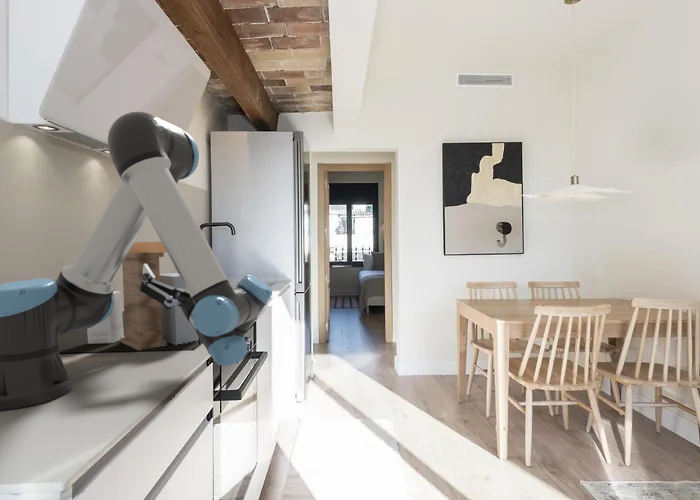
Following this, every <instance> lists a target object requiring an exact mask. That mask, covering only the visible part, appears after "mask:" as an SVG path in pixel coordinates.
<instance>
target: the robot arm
mask: <svg viewBox="0 0 700 500" xmlns="http://www.w3.org/2000/svg"><path fill="white" fill-rule="evenodd" d="M107 147H108V153H109V156H110V159H111V162H112V164H113V166H114V169H115V170H116V172H117V174H118V176H119V177H120V179H121V182H120V183H119V186H118V187H117V189H116V190H115V192H114V194H113V196H112V197H111V199H110V201H109V203H108V205H107V206H106V208H105V210H104V211H103V213H102V215H101V216H100V218H99V220H98V222H97V224H96V225H95V226H94V229H93V230H92V232H91V234H90V235H89V237H88V239H87V241H86V242H85V245H84V246H83V247H82V250H81V251H80V253H79V254H78V256H77V258H76V259H75V261H74V263H73V264H67V265H65V266H63V268H62V269H61V271H60V273H58V275H57V278H56V279H55V280H54V279H52V278H32V279H30V278H29V279H24V280H17V281H16V280H15V281H11V282H6V283H2V284H0V411H4V410H12V409H13V410H14V409H20V408H26V407H31V406H34V405H39V404H42V403H46V402H49V401H52V400H55V399H57V398H59V397H60V398H61V397H62V396H63V395H65V394H67V393H69V391H70V390H71V378H70V375H69V373H68V370H67V369H66V366H65V363H64V362H63V359H62V357H61V356H60V346H59V345H60V344H59V342H60V341H59V337H60V336H63V335H67V334H71V333H74V332H79V331H83V330H86V329H87V328H91V327H93V326H95V325H96V324H99V323H101V322H102V321H104V320H105V319H106V318H107V317H108V316H109V314H110V313H111V311H112V309H113V306H114V299H113V296H114V293H113V292H115V288H116V285H115V283H114V277H115V276H116V274H117V272H118V271H119V269H120V267H121V266H122V262H123V261H124V259H125V257H126V255H127V254H128V252H129V250H130V249H131V247H132V245H133V244H134V242H136V240H137V238H138V237H139V235H140V233H141V231H142V230H143V228H144V226H145V225H146V223H147V221H148V220H149V221H150V223H151V225H152V227H153V229H154V231H155V233H156V234H157V236H158V238H159V240H160V242H162V244H163V246H164V247H165V249H166V251H167V252H166V253H167V254H168V256H169V258H170V260H171V262H172V265H173V266H174V268H175V269H176V273H179V275H180V277H181V279H182V281H183V283H184V285H185V286H186V288H187V289H182V288H179V287H176V288H175V287H172V286H170V285H167V284H164V283H162V282H159V281H157V280H155V278H156V277H155V276H154V274H153V273H152V271H151V269H150V268H149V266H148V265H147V264H144V265H143V271H142V273H143V280H144V281H141V287H140V291H141V292H143V293H145V294H146V295H148V296H150V297H151V298H153V299H155V300H156V301H158V302H160V303H161V304H163V305H164V307H165V308H166V309H171V306H174V305H178V306H180V307H181V308H182V311H183V313H184V315H185V316H186V318H187V319H188V321H189V322H190V324H191V325H192V327H193V328H194V330H195V332H196V333H197V334H198V336H199V339H200V341H201V343H202V344H203V346H204V347H205V348H206V350H207V353H208V355H210V357H211V358H212V360H213V361H214V362H216V364H217V365H220V366H221V367H228V366H232V365H235V364H237V363H238V362H240V361H241V360H242V359H243V358H244V356H245V355H246V353H247V349H248V344H247V341H246V339H245V336H246V335H247V333H248V331H249V330H250V328H251V327H252V325H253V323H254V322H255V321H256V320H257V318H258V317H259V315H260V313H261V312H262V311H263V309H264V308H265V307H266V306H267V305H268V302H269V300H270V299H271V297H272V295H273V290H272V288H271V287H270V286H269V285H268V284H267V283H266V282H265V281H264V280H262V279H261V278H259V277H257V276H255V275H251V274H246V275H244V276H243V277H242V278H241V280H240V281H239V282H237V285H236V287H235V288H233V287H232V285H231V284H230V282H229V280H228V278H227V276H226V274H225V272H224V270H223V268H222V266H221V264H220V262H219V261H218V259H217V257H216V255H215V253H214V252H213V250H212V247H211V246H210V244H209V242H208V240H207V238H206V236H205V234H204V233H203V230H202V229H201V227H200V226H199V224H198V221H197V220H196V218H195V216H194V214H193V212H192V210H191V208H190V207H189V205H188V203H187V200H186V199H185V197H184V195H183V193H182V191H181V190H180V188H179V186H178V183H179V182H180V181H181V180H182V181H183V180H184V179H186V178H188V177H189V178H190V177H191V175H192V174H194V172H195V171H196V170H197V167H198V165H199V160H200V153H199V148H198V145H197V143H196V141H195V139H194V138H193V137H192V136H191V135H190V134H189V133H188V132H186V131H185V130H183V129H182V128H181V127H178V126H177V125H174V124H172V123H169V122H168V121H165V120H163V119H161V118H159V117H158V116H155V115H153V114H151V113H149V112H144V111H131V112H128V113H124V114H122V115H120V116H119V117H118V118H116V120H115V121H114V122H113V123H112V124H111V126H110V129H109V130H108V134H107ZM178 292H180V294H179V296H178ZM177 296H178V297H177Z"/></svg>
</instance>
